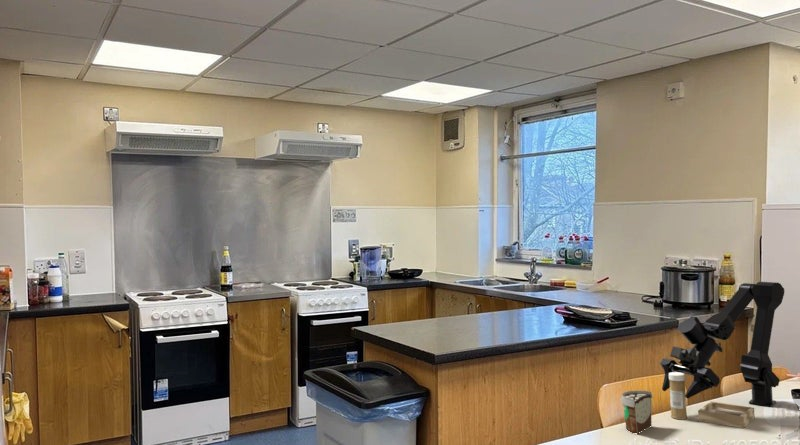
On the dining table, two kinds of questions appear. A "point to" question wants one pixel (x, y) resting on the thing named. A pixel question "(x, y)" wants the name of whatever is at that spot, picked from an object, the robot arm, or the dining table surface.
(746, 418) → the box
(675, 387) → the sprinkles bottle
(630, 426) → the food container
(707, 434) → the dining table surface
